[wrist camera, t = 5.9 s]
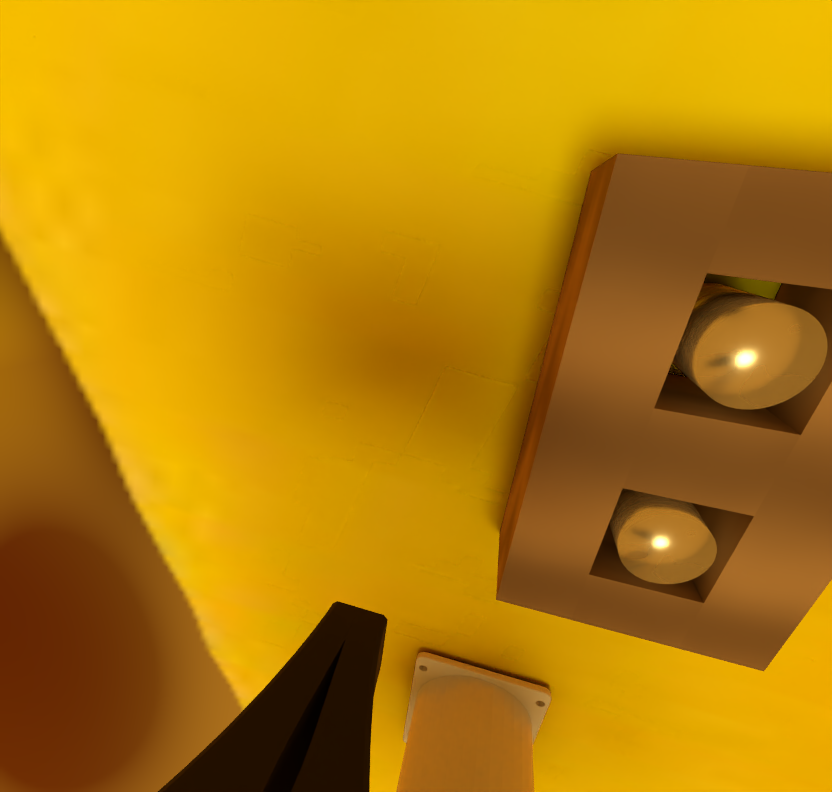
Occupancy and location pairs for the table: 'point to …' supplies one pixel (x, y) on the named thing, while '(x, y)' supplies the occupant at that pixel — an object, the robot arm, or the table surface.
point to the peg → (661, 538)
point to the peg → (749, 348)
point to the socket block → (677, 413)
